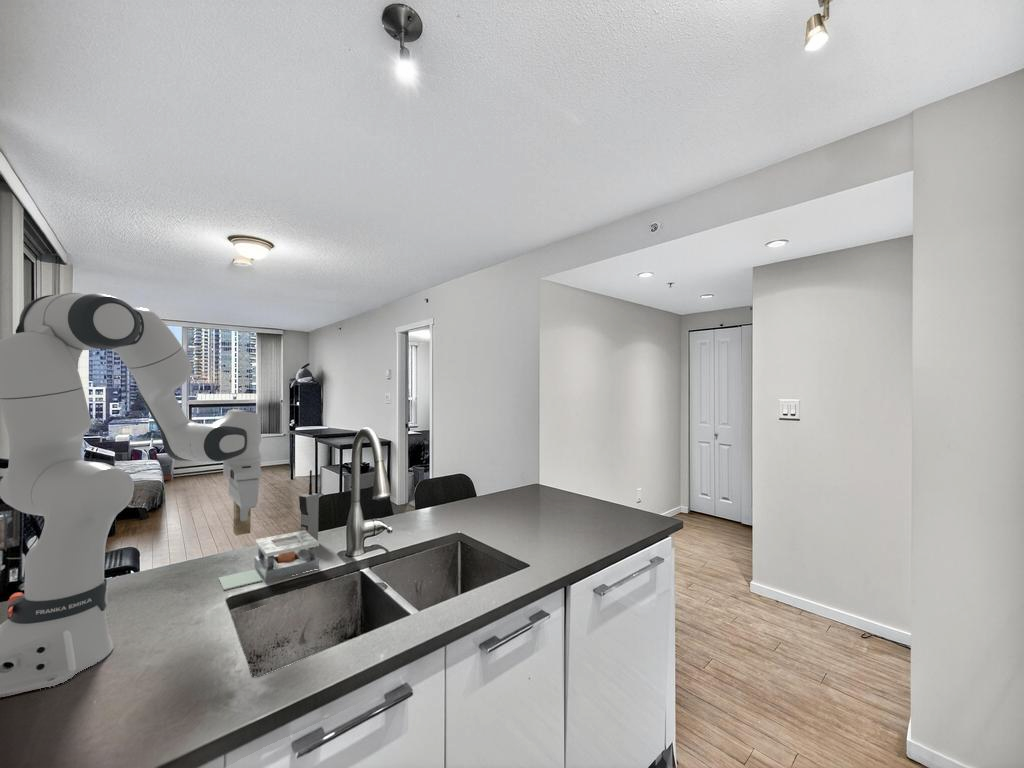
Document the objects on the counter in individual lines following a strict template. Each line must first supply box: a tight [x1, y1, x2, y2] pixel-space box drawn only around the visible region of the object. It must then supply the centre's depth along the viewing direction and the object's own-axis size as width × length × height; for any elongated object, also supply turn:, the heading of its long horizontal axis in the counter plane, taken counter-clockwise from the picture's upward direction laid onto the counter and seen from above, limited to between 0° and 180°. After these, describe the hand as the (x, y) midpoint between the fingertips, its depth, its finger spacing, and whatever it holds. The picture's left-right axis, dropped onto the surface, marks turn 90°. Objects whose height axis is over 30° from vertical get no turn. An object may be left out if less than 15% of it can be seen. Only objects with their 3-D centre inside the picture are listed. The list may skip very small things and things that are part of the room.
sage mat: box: [217, 569, 263, 591], centre depth 124 cm, size 9×9×1 cm
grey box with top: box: [254, 530, 320, 584], centre depth 133 cm, size 14×14×8 cm
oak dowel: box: [232, 500, 252, 536], centre depth 125 cm, size 4×4×9 cm
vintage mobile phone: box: [298, 469, 320, 542], centre depth 153 cm, size 4×5×25 cm
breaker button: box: [278, 551, 295, 564], centre depth 133 cm, size 4×4×4 cm
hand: (241, 517), depth 124 cm, fingers closed on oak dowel, 3 cm apart
